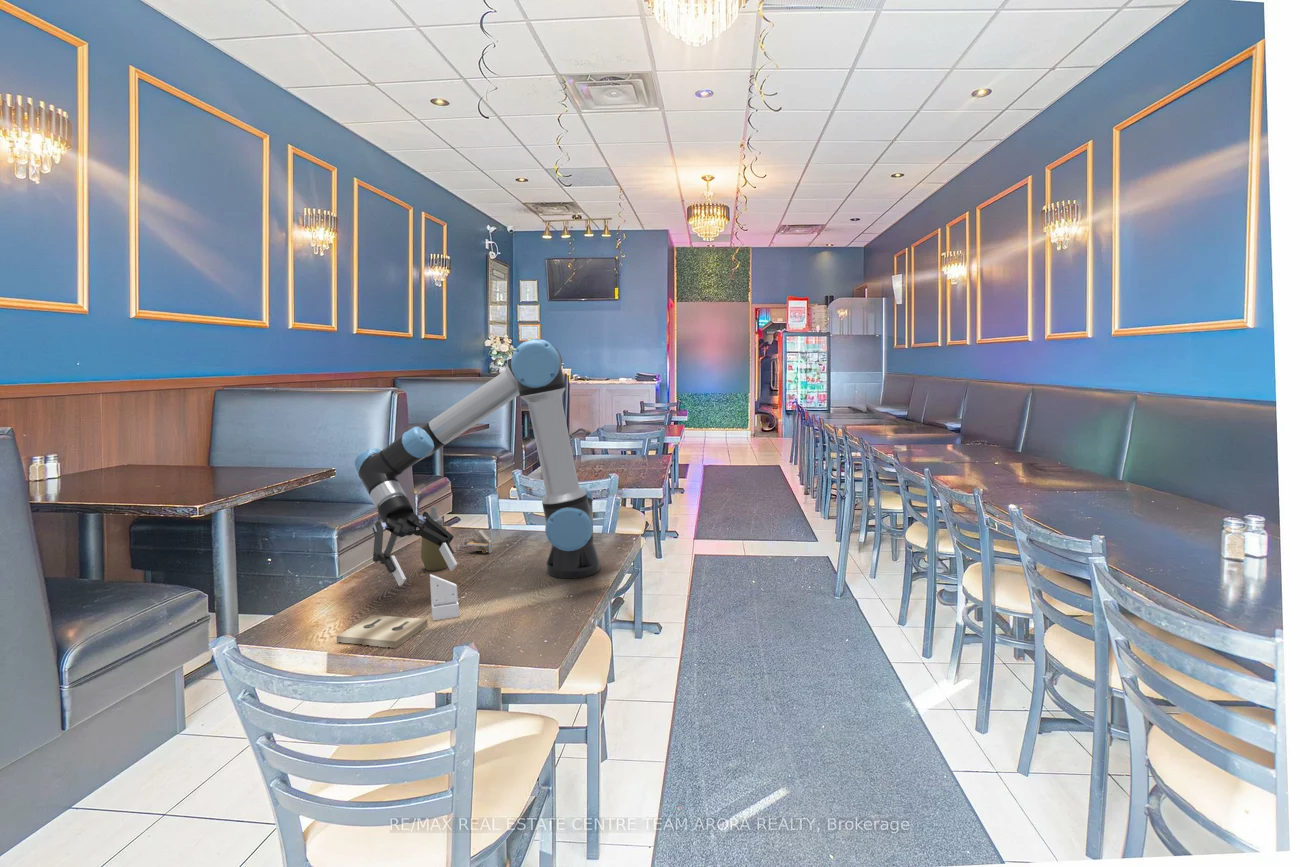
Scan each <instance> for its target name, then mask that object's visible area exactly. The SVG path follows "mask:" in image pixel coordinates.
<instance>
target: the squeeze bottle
mask: <svg viewBox="0 0 1300 867" xmlns="http://www.w3.org/2000/svg"><path fill="white" fill-rule="evenodd" d="M436 508H437V507H436V506H431V507H430V511H429V516H430V517H431V518H432V519H433V520H434V521H436V522H437V523H438V524H439V525H441V526H442V527H443V528H444V529H446V530H447V527H446V526H445V525H443V518H442V517H439V516H438V512H437V509H436ZM420 548H421V549H420V559H421V561H422V563H423V565H424V566H423V567H424V568H425V569H424V570H427V571H439V570H443V569H446V568H447V567H448V565H447V563H446V562H445V560H444V558H443V556H442V554H441V552H440V550H439V548H440V546H438V545H436V544H434V543H433V542H431V541H429V540H427V539H425V538H423V537H421V547H420Z"/></svg>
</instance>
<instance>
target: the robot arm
mask: <svg viewBox="0 0 1300 867" xmlns="http://www.w3.org/2000/svg"><path fill="white" fill-rule="evenodd" d="M565 390H566V384H565V378H564V373H563V360H562V355H561V353H560V351H559V350H558V348H556V347H555V346H554V345H553V344H552V343H550V342H549V341H547V340H544V339H540V338H535V339H533V338H531V339H529V340H525V341H524V342H522V343H520V344H519V345H518V346H517V347H516V349H514V351H513V353H512V356H511V361H510V362H509V363H507V364H506V365H505V370H504V371H502V372H501V373H499V374H498V375H497V376H495V377H494V378H492V379H490V380H489V381H487V382H486V383H484V384H483V385H482V386H480V387H479V388H477V389H475V390H474V391H472V392H471V393H469V394H468V395H467V396H465V397H464V398H462V399H460V400H459V401H458V402H456V403H455V404H453V405H452V406H451V407H449V408H447V409H446V410H445V411H443V412H442V413H441V414H438V415H437V416H436V417H433V419H432V420H430V421H428V422H427V423H425V424H423V425H422V426H421V427H420V426H413V427H412V428H411V429H409V430H408V431H405V432H404V433H403V434H402V435H401V436H400V437H398V438H396V439H395V440H394V441H393V442H391V443H390V444H389V445H388V446H386V447H385V448H383V449H382V450H381V449H379V448H378V447H377V448H375V447H373V448H368V449H367V450H363V451H362V452H360V453H359V454H358V455H356V458H355V460H354V468H355V469H356V471H357V474H358V477H359V479H360V480H361V482H362V483H363V486H364V487H365V489H366V491H367V493H368V495H369V498H370V499H371V502H372V503H373V505H374V508H375V509H376V510H377V513H378V515H379V517H380V519H381V521H380V520H376V521H375V523H374V525H373V527H372V531H373V535H374V541H373V555H372V562H374V563H378V562H379V564H381V565H384V566H385V568H386V570H387V571H388V573H389V574H392V575H393V577H394V579H395V581H396V583H397V585H398V587H399V586H400V587H401V586H403V584H404V582H405V581H406V580H407V578H406V576H405V574H404V572H403V570H402V568H401V566H400V564H399V562H398V560H397V558H396V556H395V555H391V554H392V552H393V549H394V546H395V543H396V541H397V539H398V537H399V538H404V537H407V536H408V537H409V536H412V535H414V536H417V537H419V536H420V537H421V538H422V537H423V538H425V539H427V540H429V541H431V542H433V543H434V544H436V545H438V546H440V548H439V550H440V552H441V554H442V556H443V558H444V560H445V562H446V563H447V567H448V569H449V571H450V572H452V571H454V570H455V568H456V567H457V566H458V562H457V561H456V559H455V557H454V553H455V552H454V550H453V548H452V546H451V542H452V540H453V539H454V538H455V537H454V535H453V534H452V533H451V532H449V531H448V530H447V528H446V529H444V528H443V527H442V526H441V525H439V524H438V523H437V522H436V521H434V520H433V519H432V518H431V517H430V516H429V515H430V513H429V512H427V511H423V513H422V514H420V515H417V514H416V513H415V511H414V508H413V506H412V504H411V503H410V502H411V501H410V500H409V498H408V497H407V495H406V492H405V491H404V488H403V487H402V486H401V484H400V482H399V480H398V477H399V476H401V474H403V473H404V472H405V471H407V470H408V469H409V468H412V466H414V465H415V464H417V463H418V462H420V461H422V460H425V459H426V458H428V457H431V456H432V455H433V454H435V453H436V452H437V451H438V450H440V449H441V448H442V447H444V446H445V445H447V444H448V443H449V442H451V441H453V440H454V439H456V438H457V437H459V436H460V435H462V434H464V433H465V432H466V431H468V430H470V429H471V428H472V427H474V426H476V424H478V423H480V422H482V420H484V419H485V418H488V416H490V415H492V414H493V413H494V412H496V411H498V410H499V409H500V408H502V407H503V406H505V405H506V404H508V403H510V402H511V401H512V400H514V399H516V398H517V397H519V396H520V398H521V399H522V400H524V401H525V402H526V403H527V406H528V411H529V415H530V421H531V426H532V430H533V436H534V440H535V445H536V449H537V456H538V461H539V464H540V469H541V475H542V480H543V483H544V489H545V496H543V499H542V501H541V504H542V507H543V508H542V509H543V514H544V518H545V529H544V530H545V535H546V537H547V539H548V541H549V542H550V544H551V547H550V549H549V553H548V556H547V559H546V563H545V569H546V570H545V571H546V574H547V575H549V576H551V577H554V578H560V579H577V578H578V579H579V578H584V577H589V576H593V575H595V574H597V573H598V572H600V571H601V561H600V560H601V559H600V557H599V555H598V552H597V549H596V546H595V544H594V520H593V519H594V517H593V511H594V510H593V501H594V499H593V493H592V491H591V490H590V489H582V487H580V485H579V479H578V474H577V470H576V464H575V459H574V455H573V449H572V445H571V439H570V435H569V430H568V429H569V428H568V426H567V419H566V416H565V415H566V413H565V409H564V405H563V404H564V403H563V400H562V395H563V394H564V392H565ZM385 530H387V531H388V532H389V533H390V537H389V538H388V541H387V545H386V547H385V549H384V552H383V541H384V531H385Z"/></svg>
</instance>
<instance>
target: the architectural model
mask: <svg viewBox="0 0 1300 867" xmlns="http://www.w3.org/2000/svg"><path fill="white" fill-rule="evenodd" d="M473 533H474V537H473V541H472V540H471V541H470V542H469V541H468V542H467V543H466V546H472V547H473V546H474V547H475V552H476V551H482V552H481V553H483V554H484V553H485V552H486V551H488V552H486V553H488V554H489V553H491V552H492V553H493V544H492V543H493V542H492V530H491V529H490V530H487V529H485V530H484V529H474V532H473ZM486 553H485V554H486ZM492 553H491V554H492Z"/></svg>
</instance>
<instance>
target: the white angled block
mask: <svg viewBox="0 0 1300 867" xmlns="http://www.w3.org/2000/svg"><path fill="white" fill-rule="evenodd" d="M429 582H430V584H429V585H430V587H429V588H430V604H431V605H430V606H431V618H432V617H433V618H432V620H437V621H439V620H438V619H443V620H446V619H445V618H449V619H452V618H451V617H456V618H458V617H457V616H459V617H460V604H459V602H458V601H459V600H458V599H459V598H458V585H457V584H456V583H454V582H452V581H450V580H446V579H444V578H442V577H439V576H437V575H434V574H431V573H429Z"/></svg>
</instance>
